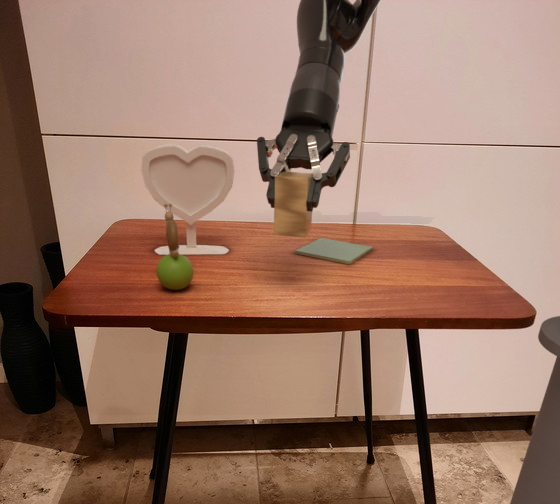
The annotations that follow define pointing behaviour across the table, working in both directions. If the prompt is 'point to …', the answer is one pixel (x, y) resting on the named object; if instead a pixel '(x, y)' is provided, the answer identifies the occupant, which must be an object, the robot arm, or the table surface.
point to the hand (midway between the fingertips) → (291, 206)
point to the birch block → (292, 204)
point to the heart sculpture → (188, 186)
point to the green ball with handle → (173, 259)
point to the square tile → (334, 250)
